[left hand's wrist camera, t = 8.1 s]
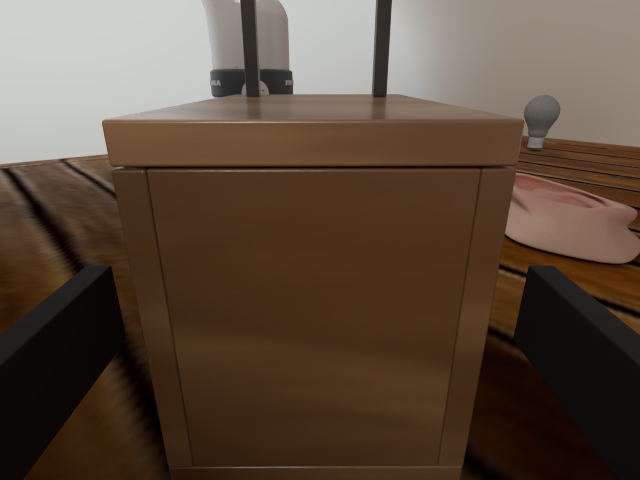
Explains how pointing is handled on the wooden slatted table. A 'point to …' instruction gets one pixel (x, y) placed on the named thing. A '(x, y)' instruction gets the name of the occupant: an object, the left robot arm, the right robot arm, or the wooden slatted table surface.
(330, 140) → the lid
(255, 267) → the chest
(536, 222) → the anatomical model
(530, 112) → the light bulb
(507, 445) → the wooden slatted table surface
